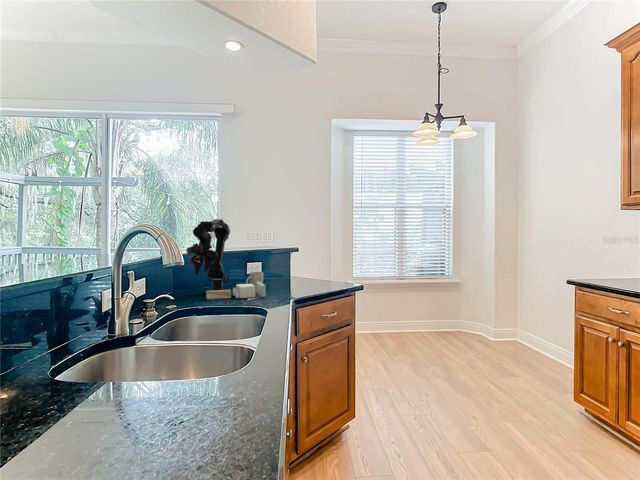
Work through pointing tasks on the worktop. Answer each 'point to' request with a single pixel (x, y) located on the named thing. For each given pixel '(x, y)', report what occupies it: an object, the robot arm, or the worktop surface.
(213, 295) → the dowel
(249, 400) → the worktop surface
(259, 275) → the mug
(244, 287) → the block
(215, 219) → the robot arm
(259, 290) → the wall
